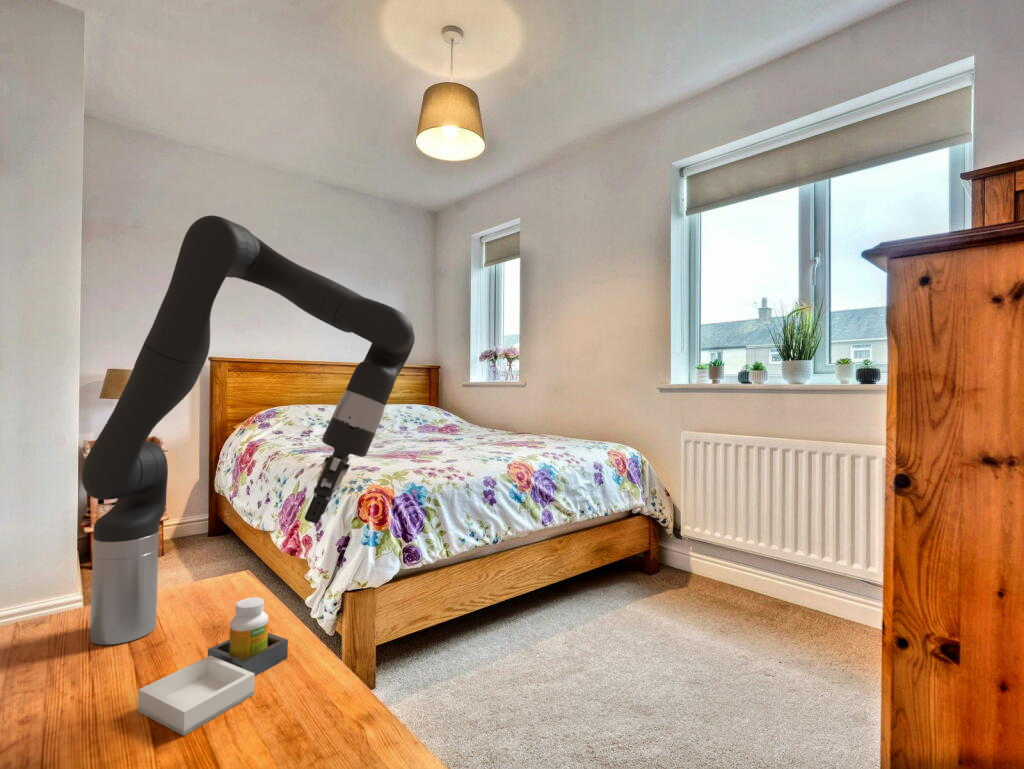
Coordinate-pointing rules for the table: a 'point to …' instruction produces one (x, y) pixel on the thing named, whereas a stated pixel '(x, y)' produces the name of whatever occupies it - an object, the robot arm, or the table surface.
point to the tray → (196, 694)
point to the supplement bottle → (248, 628)
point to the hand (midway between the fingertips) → (313, 517)
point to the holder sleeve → (254, 655)
